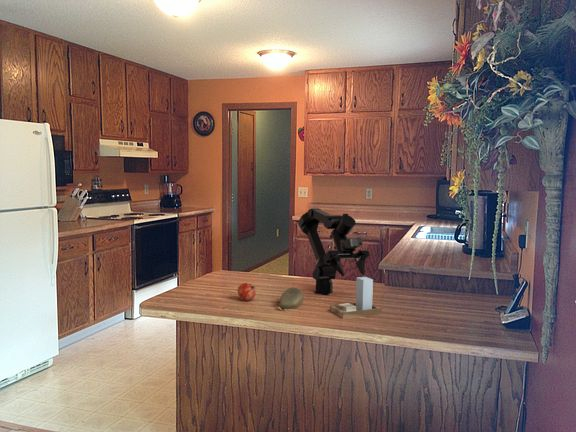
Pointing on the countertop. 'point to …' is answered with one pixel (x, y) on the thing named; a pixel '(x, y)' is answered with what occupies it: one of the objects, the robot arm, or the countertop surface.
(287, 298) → the stone
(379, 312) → the wooden tray
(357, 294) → the pale blue rectangular block
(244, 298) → the pomegranate
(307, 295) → the countertop surface
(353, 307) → the offcut upper
